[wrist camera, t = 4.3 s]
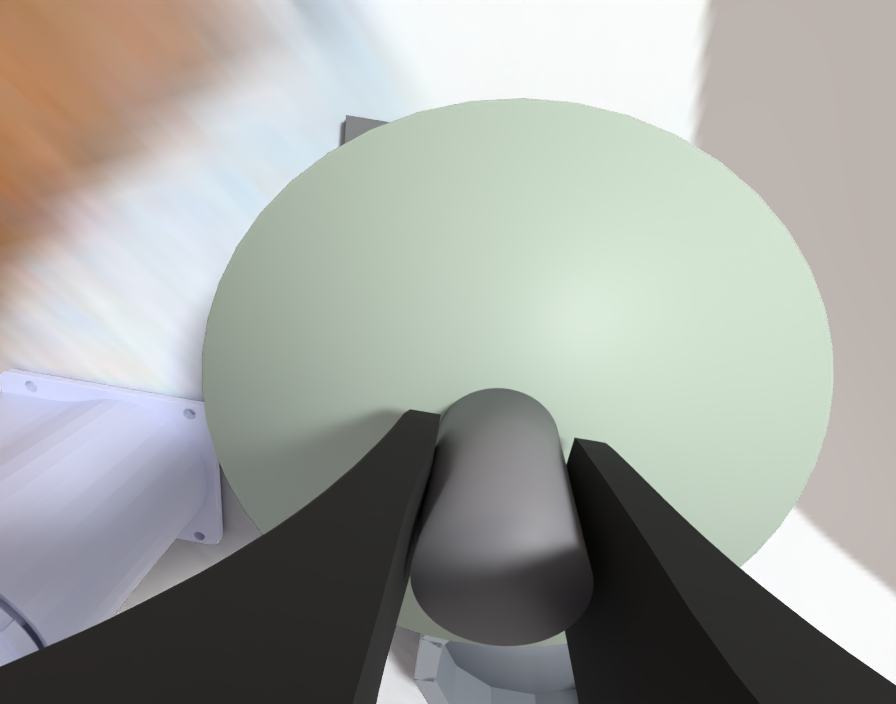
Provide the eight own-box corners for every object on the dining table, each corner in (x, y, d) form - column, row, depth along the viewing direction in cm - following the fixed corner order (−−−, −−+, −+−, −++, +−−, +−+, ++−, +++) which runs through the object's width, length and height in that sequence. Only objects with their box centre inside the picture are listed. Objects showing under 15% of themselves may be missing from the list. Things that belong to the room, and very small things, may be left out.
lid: (231, 572, 13) (119, 752, 9) (206, 48, 8) (-70, -57, 4) (678, 656, 13) (761, 878, 9) (943, 169, 8) (1409, 182, 4)
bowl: (412, 669, 26) (403, 729, 23) (440, 521, 22) (433, 573, 19) (604, 704, 26) (618, 768, 23) (671, 562, 22) (698, 620, 19)
